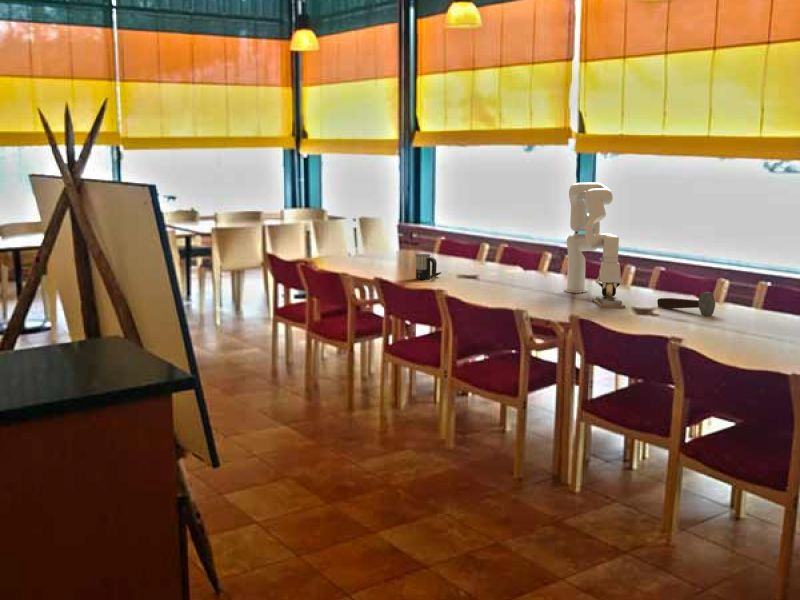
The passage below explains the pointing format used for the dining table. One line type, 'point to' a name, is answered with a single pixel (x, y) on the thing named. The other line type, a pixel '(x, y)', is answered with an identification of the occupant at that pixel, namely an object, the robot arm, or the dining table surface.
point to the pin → (609, 290)
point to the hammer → (691, 303)
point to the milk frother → (425, 266)
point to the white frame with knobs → (608, 302)
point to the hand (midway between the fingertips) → (608, 295)
